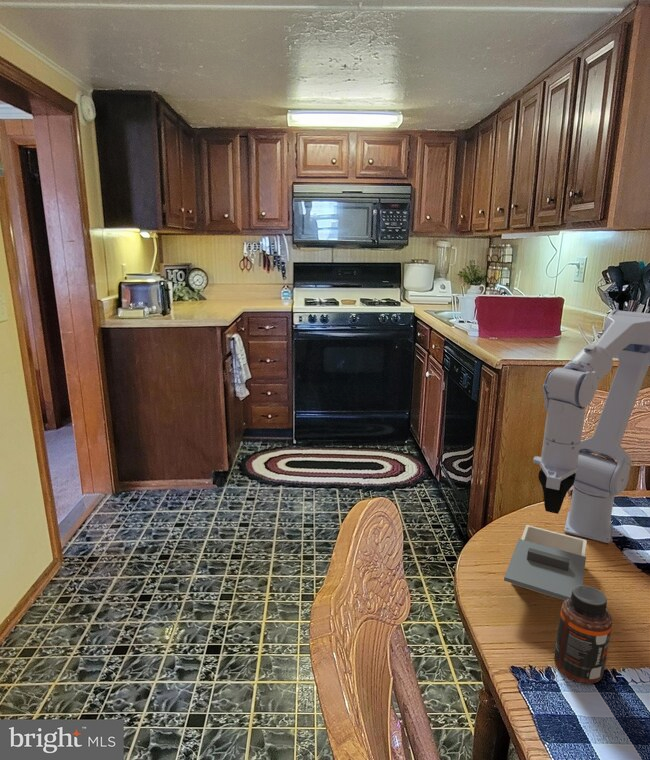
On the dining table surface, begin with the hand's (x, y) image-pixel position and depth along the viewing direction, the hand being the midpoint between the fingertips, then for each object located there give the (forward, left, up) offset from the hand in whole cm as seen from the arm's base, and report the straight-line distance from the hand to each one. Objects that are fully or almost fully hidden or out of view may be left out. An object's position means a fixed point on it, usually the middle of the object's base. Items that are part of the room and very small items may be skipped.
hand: (552, 510), depth 90 cm
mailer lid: (+12, +1, -4) cm, 13 cm away
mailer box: (+5, +1, -9) cm, 11 cm away
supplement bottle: (+25, +7, -10) cm, 28 cm away
